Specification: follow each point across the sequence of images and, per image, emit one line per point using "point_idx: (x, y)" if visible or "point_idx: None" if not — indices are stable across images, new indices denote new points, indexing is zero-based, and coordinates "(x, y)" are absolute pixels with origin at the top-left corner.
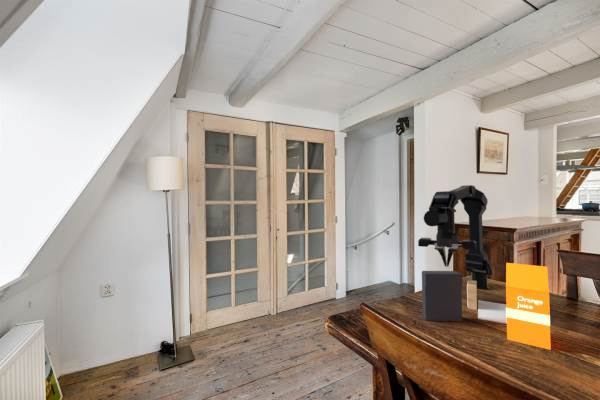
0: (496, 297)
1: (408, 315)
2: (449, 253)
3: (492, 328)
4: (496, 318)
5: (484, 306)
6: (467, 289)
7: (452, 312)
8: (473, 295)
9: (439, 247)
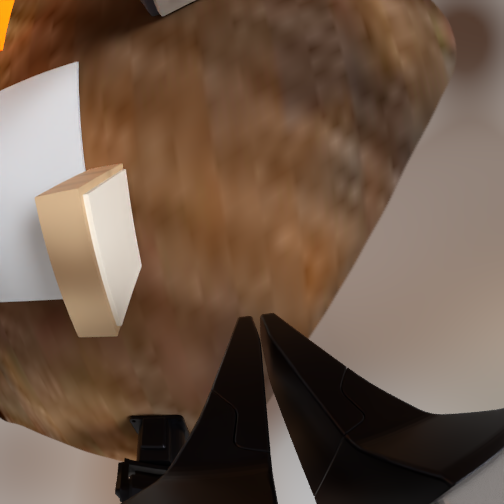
0: (83, 364)
1: None
2: (239, 465)
3: (42, 13)
4: (22, 108)
5: None
6: (92, 188)
7: None
8: (74, 180)
9: (492, 482)
